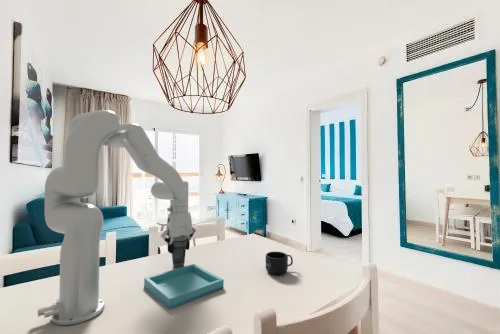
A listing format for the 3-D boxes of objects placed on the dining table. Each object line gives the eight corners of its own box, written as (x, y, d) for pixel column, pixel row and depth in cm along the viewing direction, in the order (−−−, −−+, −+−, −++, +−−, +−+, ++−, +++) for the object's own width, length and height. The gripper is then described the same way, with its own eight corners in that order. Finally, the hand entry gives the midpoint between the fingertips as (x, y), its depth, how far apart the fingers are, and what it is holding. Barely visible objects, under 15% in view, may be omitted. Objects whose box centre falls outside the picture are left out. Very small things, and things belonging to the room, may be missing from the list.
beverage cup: (176, 271, 104) (177, 222, 104) (166, 266, 108) (166, 220, 108) (190, 265, 110) (191, 219, 110) (180, 261, 114) (180, 217, 114)
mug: (271, 278, 98) (271, 259, 98) (262, 269, 106) (262, 252, 106) (298, 274, 102) (298, 256, 102) (287, 266, 110) (287, 249, 111)
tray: (169, 309, 75) (170, 299, 75) (144, 286, 90) (144, 278, 90) (223, 288, 89) (223, 279, 89) (193, 271, 104) (193, 263, 104)
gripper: (163, 212, 100) (163, 257, 100) (201, 208, 112) (200, 248, 112) (155, 210, 106) (155, 253, 106) (192, 206, 118) (192, 245, 118)
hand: (178, 250), depth 109 cm, fingers closed on beverage cup, 6 cm apart
